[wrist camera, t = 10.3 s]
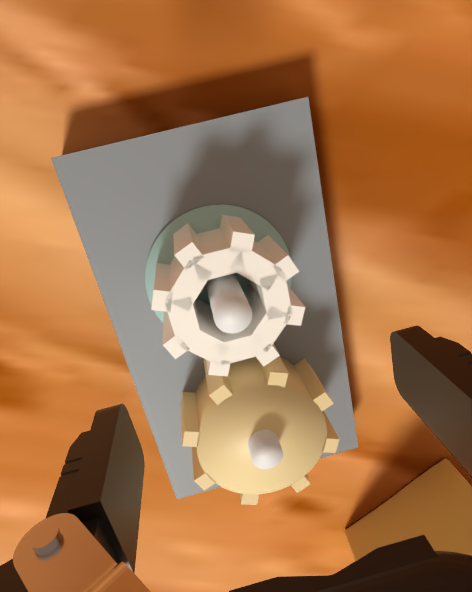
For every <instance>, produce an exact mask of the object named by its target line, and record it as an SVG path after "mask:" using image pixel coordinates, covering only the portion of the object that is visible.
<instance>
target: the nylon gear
mask: <svg viewBox="0 0 472 592" xmlns="http://www.w3.org/2000/svg"><path fill="white" fill-rule="evenodd" d="M173 237H174V255H175V257H174V259H173V260H172V262H171V264H170V265H169V264H161V263H156V270H155V279H154V288H153V298H152V307H151V310H156V311H164V315H163V346H164V347H165V348H166V349H167V351H168V352H169V353H170V354H171V355H172V356H173V357H174V358H175V359H177V358H178V357H179V356H181V355H182V354H184V353H185V352H186V351H190V352H192V353H194V354H196V355H198V356H200V357H202V358H204V359H206V363H207V369H208V375H216V376H228V373H229V368H230V363H234V362H237V361H241V360H245V359H249V358H252V357H256V358H257V359H258V360H259V361H260V363H261V364H262V365H263V366H265V365H267V364H268V363H270V362H271V361H273V360H274V359H276V358H277V357H279V356H280V355H279V353H278V351H277V349H276V347H275V345H274V342H275V340H276V339H277V337H278V336H279V334H280V333H281V332H282V330H283V329H284V327H285V326H286V324H289V325H299V326H301V323H302V319H303V315H304V311H305V306H304V305H303V303H302V302H301V301H300V300H299V298H298V297H297V296H296V295H295V293H294V292H293V291H292V290H291V288H290V287H289V286H288V285H287V282H286V281H287V280H288V279H289V278H291V277H292V276H294V275H295V274H297V273H298V272H299V270H298V269H297V267H296V266H295V264H294V263H293V261H292V260H291V259H290V257H289V256H288V254H287V253H286V252H285V251H284V250H283V249H282V248H281V247H280V246H279V245H278V244H277V243H276V242H275V241H274V240H273V239H272V238H271V237H270V236H269V235H267V236H265V237H264V238H262V239H261V240H260V241H258V242H255V241H254V237H255V234H254V233H253V232H252V231H251V230H250V228H249V227H248V226H247V225H246V224H245V223H244V222H243V220H242V219H241V218H240V217H235V216H228V215H222V217H221V223H220V228H218V229H214V230H210V231H206V232H202V233H198V234H196V233H195V231H194V230H193V229H192V227H191V226H190V225H189V223H187V224H186V225H185V226H183V227H182V228H181V229H179V230H178V231H177V232H175V233H174V234H173ZM233 273H239V274H240V275H242V276H244V277H246V278H247V279H249V280H250V282H251V283H250V285H249V287H248V288H247V290H246V291H245V293H244V294H245V297H246V299H247V301H248V303H249V305H250V307H251V310H252V320H251V322H250V324H249V325H248V327H247V328H246V329H244V330H243V331H241V332H239V333H234V334H230V333H225V332H223V331H221V330H220V329H219V328H218V327H217V326H216V324H215V321H214V318H213V313H212V309H211V306H210V305H208V304H206V303H204V302H202V301H200V300H198V299H196V298H197V297H198V295H199V294H200V292H201V290H202V289H203V287H204V286H205V284H206V282H207V281H208V280H210V279H214V278H218V277H222V276H226V275H229V274H233Z"/></svg>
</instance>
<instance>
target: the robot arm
mask: <svg viewBox="0 0 472 592" xmlns="http://www.w3.org/2000/svg"><path fill="white" fill-rule="evenodd" d="M390 342H391V352H392V362H393V372H394V379H395V383H396V386H397V389H398V391H399V393H400V394H401V396H402V397H403V399H404V400H405V401H406V402H407V403H408V404H409V406H410V407H411V408H412V409H413V410H414V411H415V412H416V414H417V415H418V416H419V417H420V418H421V419H422V421H423V422H424V423H425V424H426V425H427V426H428V427H429V429H430V430H431V431H432V432H433V433H434V434H435V435H436V437H437V438H438V439H439V440H440V441H441V442H442V444H443V445H444V446H445V447H446V448H447V449H448V450H449V452H450V453H451V454H452V455H453V456H454V457H455V458H456V460H457V461H458V462H459V463H460V464H461V465H462V467H463V468H464V469H465V470H466V471H467V472H468V473H469V475H470V476H471V477H472V354H471V352H470V351H468V350H467V349H466V348H464V347H463V346H462V345H460V344H459V343H457V342H454V341H451V340H448V339H445V338H442V337H438V338H434V337H432V336H431V335H430V334H429V333H427V332H426V331H425V330H423V329H422V328H421V327H419V326H413V327H409V328H406V329H402V330H398V331H394V332H392V333H391V336H390ZM143 477H144V456H143V451H142V447H141V444H140V442H139V439H138V436H137V434H136V431H135V429H134V426H133V424H132V421H131V418H130V416H129V413H128V411H127V409H126V407H125V405H124V404H120V405H116V406H112V407H109V408H105V409H101V410H98V411H96V413H95V416H94V420H93V423H92V427H91V430H90V431H87V432H83V433H81V434H80V435H79V437H78V438H77V439H76V440H75V442H74V443H73V444H72V445H71V447H70V449H69V451H68V454H67V457H66V460H65V465H64V466H63V469H62V472H61V477H60V478H59V481H58V484H57V487H56V489H55V492H54V495H53V498H52V501H51V504H50V507H49V510H48V513H47V516H46V519H44V520H42V521H41V522H39V523H38V524H36V525H35V526H34V527H33V528H31V529H30V530H29V531H28V532H27V533H26V534H25V535H24V537H23V538H22V539H21V541H20V542H19V544H18V545H17V547H16V549H15V552H14V556H13V559H11V560H10V561H8V562H6V563H5V564H3V565H1V566H0V592H150V591H149V590H148V588H147V587H146V586H145V585H144V584H143V583H142V582H141V581H140V579H139V578H138V577H137V576H136V575H135V574H134V571H135V560H136V550H137V539H138V529H139V519H140V508H141V498H142V487H143ZM229 592H472V556H471V555H467V554H462V553H457V552H449V551H434V549H433V548H432V546H431V544H430V543H429V541H428V540H427V538H426V536H425V535H420V536H417V537H414V538H410V539H407V540H403V541H400V542H396V543H393V544H389V545H386V546H383V547H379V548H376V549H375V550H373V551H371V552H370V553H368V554H367V555H365V556H363V557H362V558H360V559H359V560H357V561H355V562H354V563H352V564H350V565H349V566H347V567H346V568H344V569H342V570H341V571H339V572H337V573H336V574H333V575H329V576H295V577H276V578H272V579H269V580H265V581H262V582H258V583H255V584H252V585H248V586H245V587H241V588H238V589H234V590H231V591H229Z"/></svg>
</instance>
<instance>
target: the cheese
mask: <svg viewBox="0 0 472 592" xmlns="http://www.w3.org/2000/svg"><path fill="white" fill-rule="evenodd" d="M345 534H346V537H347V540H348V542H349V545H350V548H351V550H352V553H353V556H354V558H355V561H357V560H359V559H360V558H362V557H363V556H365V555H367V554H368V553H370V552H371V551H373V550H375V549H376V548H379V547H383V546H386V545H389V544H393V543H396V542H400V541H403V540H407V539H410V538H414V537H417V536H420V535H425V536H426V538H427V540H428V541H429V543H430V544H431V546H432V548H433V549H434V551H449V552H457V553H462V554H467V555H471V556H472V486H471V485H470V484H469V483H468V481H467V480H466V479H465V478H464V477H463V476H462V475H461V474H460V472H459V471H458V470H457V469H456V468H455V467H454V466H453V465H452V463H451V462H450V461H449V460H448V459H443V460H442V461H440V462H439V463H437V464H436V465H434V466H433V467H431V468H430V469H428V470H427V471H426V472H424V473H423V474H422V475H420V476H419V477H418V478H416V479H415V480H414V481H412V482H411V483H410V484H408V485H407V486H406V487H404V488H403V489H402V490H401V491H399V492H398V493H397V494H395V495H394V496H393V497H391V498H390V499H389V500H387V501H386V502H385V503H383V504H382V505H380V506H379V507H378V508H376V509H375V510H373V511H372V512H370V513H369V514H368V515H366V516H365V517H363V518H362V519H360V520H359V521H357V522H356V523H355V524H353V525H352V526H350V527H349V528H348V529H346V530H345Z"/></svg>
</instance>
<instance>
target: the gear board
mask: <svg viewBox="0 0 472 592" xmlns="http://www.w3.org/2000/svg"><path fill="white" fill-rule="evenodd" d="M51 159H52V162H53V164H54V167H55V170H56V172H57V175H58V178H59V181H60V183H61V186H62V189H63V191H64V194H65V197H66V200H67V202H68V205H69V208H70V210H71V213H72V216H73V219H74V221H75V224H76V227H77V229H78V232H79V235H80V238H81V240H82V243H83V246H84V248H85V251H86V254H87V257H88V259H89V262H90V265H91V267H92V270H93V273H94V276H95V278H96V281H97V284H98V286H99V289H100V292H101V295H102V297H103V300H104V303H105V305H106V308H107V311H108V314H109V316H110V319H111V322H112V324H113V327H114V330H115V333H116V335H117V338H118V341H119V343H120V346H121V349H122V352H123V354H124V357H125V360H126V362H127V365H128V368H129V371H130V373H131V376H132V379H133V381H134V384H135V387H136V390H137V392H138V395H139V398H140V400H141V403H142V406H143V409H144V411H145V414H146V417H147V419H148V422H149V425H150V428H151V430H152V433H153V436H154V438H155V441H156V444H157V447H158V449H159V452H160V455H161V457H162V460H163V463H164V466H165V468H166V471H167V474H168V476H169V479H170V482H171V485H172V487H173V490H174V493H175V495H176V498H177V499H180V498H184V497H187V496H191V495H194V494H198V493H201V492H205V491H208V490H212V489H215V488H218V487H223V488H225V489H227V490H230V491H233V492H236V493H239V498H240V503H241V504H248V505H257V502H258V498H259V494H264V493H270V492H274V491H277V490H280V489H283V488H285V487H287V486H290V485H291V486H292V487H293V489H294V490H295V491H296V492H297V493H298V492H299V491H301V490H302V489H304V488H306V487H307V486H309V485H310V484H311V483H310V480H309V478H308V475H307V473H308V472H309V471H310V470H311V469H312V468H313V467H314V466H315V464H316V463H317V461H318V460H319V458H323V457H326V456H330V455H333V454H337V453H340V452H344V451H347V450H351V449H354V448H358V442H357V435H356V428H355V421H354V414H353V407H352V400H351V393H350V386H349V379H348V372H347V365H346V358H345V351H344V344H343V337H342V330H341V323H340V316H339V309H338V302H337V295H336V288H335V281H334V274H333V267H332V260H331V253H330V246H329V239H328V232H327V225H326V218H325V211H324V204H323V197H322V190H321V183H320V176H319V169H318V162H317V155H316V148H315V141H314V134H313V127H312V120H311V113H310V106H309V99H308V97H305V98H300V99H296V100H292V101H288V102H284V103H279V104H275V105H271V106H267V107H263V108H258V109H254V110H250V111H246V112H242V113H237V114H233V115H229V116H225V117H221V118H217V119H212V120H208V121H204V122H200V123H196V124H191V125H187V126H183V127H179V128H175V129H170V130H166V131H162V132H158V133H154V134H149V135H145V136H141V137H137V138H133V139H129V140H124V141H120V142H116V143H112V144H108V145H103V146H99V147H95V148H91V149H87V150H82V151H78V152H74V153H70V154H66V155H61V156H57V157H53V158H51ZM222 215H228V216H235V217H240V218H241V219H242V220H243V222H244V223H245V224H246V225H247V226H248V227H249V228H250V230H251V231H252V232H253V233H254V234H255V237H254V241H255V242H258V241H260V240H261V239H262V238H264V237H265V236H267V235H269V236H270V237H271V238H272V239H273V240H274V241H275V242H276V243H277V244H278V245H279V246H280V247H281V248H282V249H283V250H284V251H285V252H286V253H287V254H288V256H289V257H290V259H291V260H292V261H293V263H294V264H295V266H296V267H297V269H298V270H299V272H298V273H297V274H295V275H294V276H292V277H291V278H289V279H288V280H287V281H286V282H287V285H288V286H289V287H290V288H291V290H292V291H293V292H294V293H295V295H296V296H297V297H298V298H299V300H300V301H301V302H302V303H303V305H304V306H305V311H304V315H303V319H302V323H301V326H299V325H289V324H286V326H285V327H284V329H283V330H282V332H281V333H280V334H279V336H278V337H277V339H276V340H275V342H274V345H275V347H276V349H277V351H278V353H279V355H280V356H279V357H277V358H276V359H274V360H273V361H271V362H270V363H268V364H267V365H265V366H263V365H262V364H261V363H260V361H259V360H258V359H257V358H256V357H252V358H249V359H245V360H241V361H237V362H234V363H230V368H229V373H228V376H216V375H208V369H207V363H206V359H204V358H202V357H200V356H198V355H196V354H194V353H192V352H190V351H186V352H185V353H184V354H182V355H181V356H179V357H178V358H177V359H175V358H174V357H173V356H172V355H171V354H170V353H169V352H168V351H167V349H166V348H165V347H164V346H163V315H164V311H156V310H151V307H152V298H153V288H154V279H155V270H156V263H161V264H169V265H170V264H171V262H172V260H173V259H174V257H175V255H174V237H173V234H174V233H175V232H177V231H178V230H179V229H181V228H182V227H183V226H185V225H186V224H187V223H189V225H190V226H191V227H192V229H193V230H194V231H195V233H196V234H198V233H202V232H206V231H210V230H214V229H218V228H220V223H221V217H222ZM250 283H251V282H250V280H249V279H247V278H246V277H244V276H242V275H240V274H239V273H233V274H229V275H226V276H222V277H218V278H214V279H210V280H208V281H207V282H206V284H205V286H204V287H203V289H202V290H201V292H200V294H199V295H198V297H197V298H196V299H198V300H200V301H202V302H204V303H206V304H208V305H210V306H211V309H212V313H213V318H214V321H215V324H216V326H217V327H218V328H219V329H220V330H221V331H223V332H225V333H230V334H234V333H239V332H241V331H243V330H244V329H246V328H247V327H248V325H249V324H250V322H251V320H252V310H251V307H250V305H249V303H248V301H247V299H246V297H245V294H244V293H245V291H246V290H247V288H248V287H249V285H250Z"/></svg>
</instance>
